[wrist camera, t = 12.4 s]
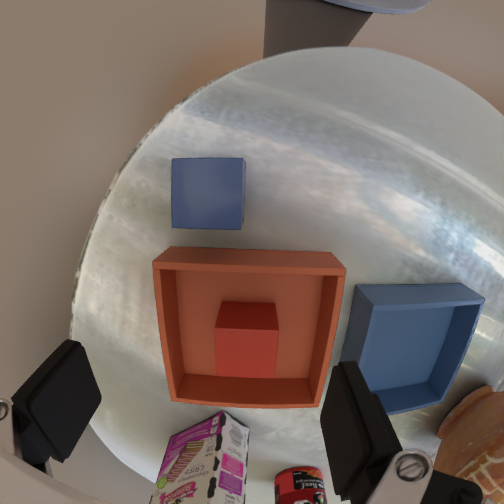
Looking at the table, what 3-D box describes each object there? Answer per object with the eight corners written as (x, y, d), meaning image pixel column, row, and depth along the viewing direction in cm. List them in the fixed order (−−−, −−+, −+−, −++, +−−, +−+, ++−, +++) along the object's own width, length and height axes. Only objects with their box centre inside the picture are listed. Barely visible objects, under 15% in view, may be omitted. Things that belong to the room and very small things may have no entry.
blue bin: (355, 284, 24) (373, 305, 20) (461, 283, 24) (485, 298, 20) (330, 395, 28) (338, 423, 24) (427, 381, 28) (442, 402, 24)
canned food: (330, 471, 33) (340, 522, 23) (295, 487, 35) (300, 535, 24) (300, 461, 32) (307, 519, 21) (264, 478, 34) (265, 531, 23)
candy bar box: (222, 407, 29) (205, 529, 13) (250, 426, 30) (247, 540, 14) (167, 435, 31) (139, 529, 15) (194, 451, 32) (175, 543, 16)
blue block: (188, 162, 22) (171, 158, 17) (245, 162, 22) (242, 157, 17) (187, 218, 23) (171, 228, 19) (243, 219, 23) (240, 230, 19)
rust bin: (169, 246, 24) (151, 261, 19) (331, 252, 24) (346, 268, 19) (181, 373, 27) (171, 401, 23) (311, 378, 27) (318, 407, 23)
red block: (221, 300, 24) (214, 327, 20) (275, 302, 24) (279, 330, 20) (222, 344, 26) (216, 376, 21) (272, 346, 26) (274, 378, 21)
